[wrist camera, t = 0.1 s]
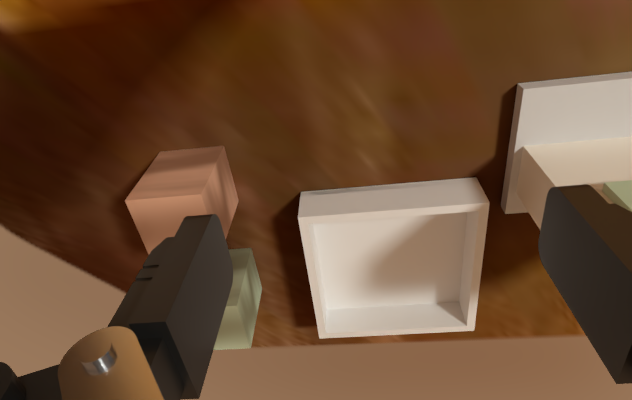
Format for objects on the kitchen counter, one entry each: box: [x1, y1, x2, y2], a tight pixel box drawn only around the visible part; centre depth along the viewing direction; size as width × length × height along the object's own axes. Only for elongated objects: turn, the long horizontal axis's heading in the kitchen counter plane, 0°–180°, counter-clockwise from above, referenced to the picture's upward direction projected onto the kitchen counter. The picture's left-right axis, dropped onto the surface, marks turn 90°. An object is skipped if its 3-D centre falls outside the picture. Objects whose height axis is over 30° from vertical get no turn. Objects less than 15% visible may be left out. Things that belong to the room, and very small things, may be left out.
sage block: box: [213, 248, 262, 350], centre depth 33 cm, size 4×4×6 cm
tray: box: [298, 177, 490, 338], centre depth 32 cm, size 12×12×3 cm
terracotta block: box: [125, 146, 239, 254], centre depth 28 cm, size 4×4×6 cm
